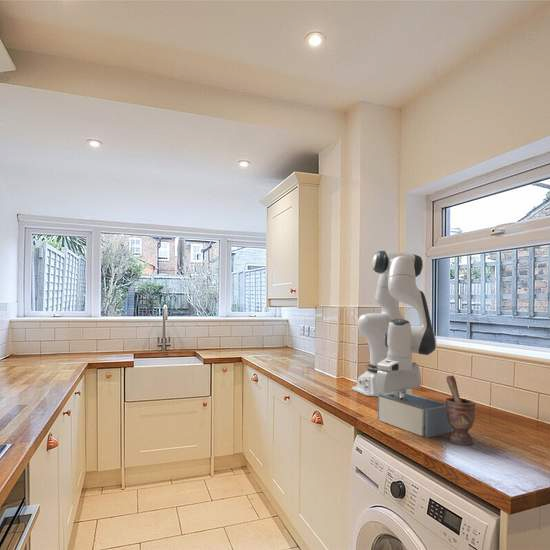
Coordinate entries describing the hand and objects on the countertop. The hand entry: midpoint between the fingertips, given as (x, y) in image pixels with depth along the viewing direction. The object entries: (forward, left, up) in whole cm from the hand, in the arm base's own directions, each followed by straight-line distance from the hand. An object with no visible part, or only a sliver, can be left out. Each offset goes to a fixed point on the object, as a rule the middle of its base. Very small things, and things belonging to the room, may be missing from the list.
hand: (399, 401), depth 144 cm
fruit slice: (+8, +5, -8) cm, 13 cm away
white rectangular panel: (+3, -4, -8) cm, 9 cm away
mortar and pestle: (+20, +5, -8) cm, 22 cm away
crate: (+3, +4, -8) cm, 9 cm away
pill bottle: (-13, +17, -8) cm, 23 cm away
